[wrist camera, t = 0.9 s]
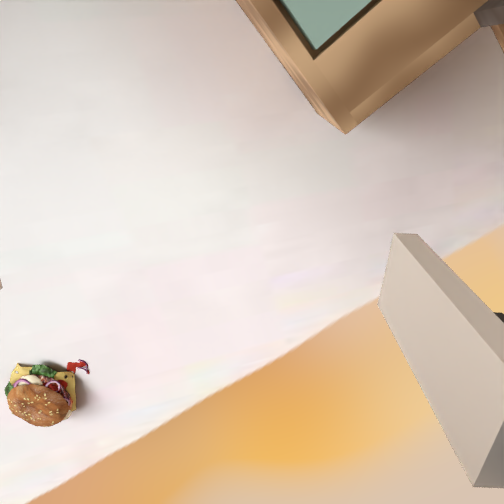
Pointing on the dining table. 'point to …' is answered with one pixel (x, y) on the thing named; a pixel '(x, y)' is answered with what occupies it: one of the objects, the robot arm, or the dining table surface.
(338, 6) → the lid
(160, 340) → the dining table surface
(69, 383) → the hamburger
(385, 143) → the dining table surface
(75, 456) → the dining table surface
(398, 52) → the toolbox
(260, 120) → the dining table surface
